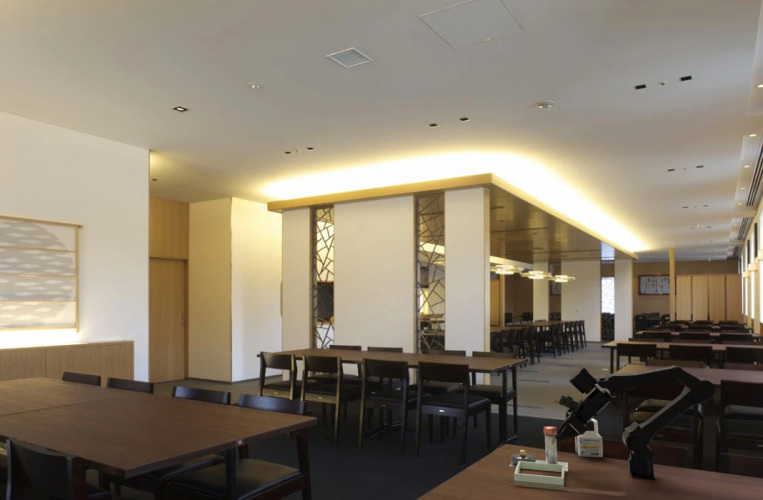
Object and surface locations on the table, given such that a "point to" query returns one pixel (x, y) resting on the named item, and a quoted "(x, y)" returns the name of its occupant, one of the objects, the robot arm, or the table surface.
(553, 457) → the glass spice jar
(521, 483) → the tray
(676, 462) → the table surface
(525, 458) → the plate
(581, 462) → the table surface
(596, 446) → the container
